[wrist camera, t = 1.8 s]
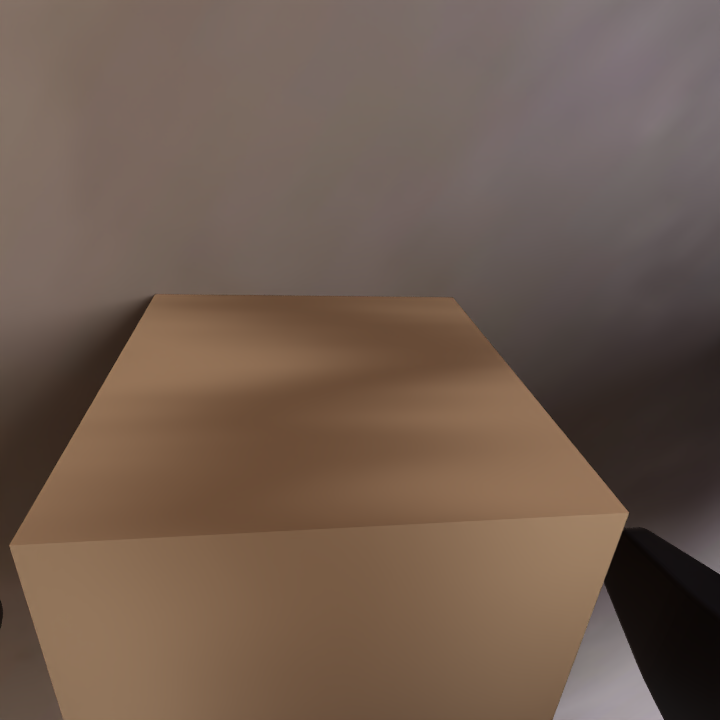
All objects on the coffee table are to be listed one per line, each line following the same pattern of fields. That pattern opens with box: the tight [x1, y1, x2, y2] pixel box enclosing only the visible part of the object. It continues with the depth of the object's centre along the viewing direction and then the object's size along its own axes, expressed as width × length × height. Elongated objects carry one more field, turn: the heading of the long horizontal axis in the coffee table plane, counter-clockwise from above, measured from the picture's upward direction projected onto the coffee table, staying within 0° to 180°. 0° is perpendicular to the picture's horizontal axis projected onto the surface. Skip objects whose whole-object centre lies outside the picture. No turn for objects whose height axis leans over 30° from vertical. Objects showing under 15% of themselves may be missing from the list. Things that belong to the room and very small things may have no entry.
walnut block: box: [9, 294, 629, 720], centre depth 9 cm, size 6×6×6 cm
